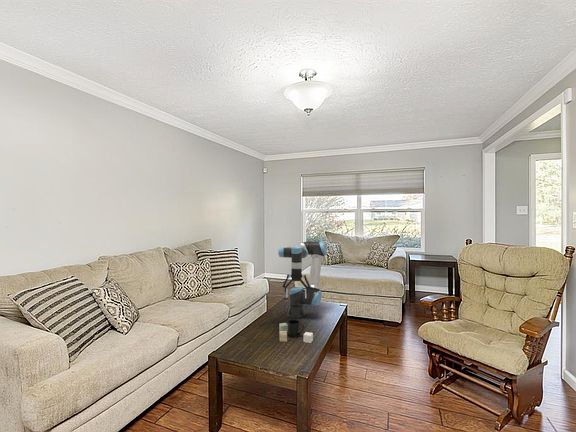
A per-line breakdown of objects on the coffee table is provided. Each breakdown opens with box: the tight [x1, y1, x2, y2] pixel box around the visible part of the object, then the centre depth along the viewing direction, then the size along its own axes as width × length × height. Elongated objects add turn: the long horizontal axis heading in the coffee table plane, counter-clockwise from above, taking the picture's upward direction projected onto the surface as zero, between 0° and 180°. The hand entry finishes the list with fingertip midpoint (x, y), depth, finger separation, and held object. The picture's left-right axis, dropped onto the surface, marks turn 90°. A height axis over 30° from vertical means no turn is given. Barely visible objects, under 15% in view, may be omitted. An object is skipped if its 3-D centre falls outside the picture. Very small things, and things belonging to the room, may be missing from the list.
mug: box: [287, 319, 305, 338], centre depth 210 cm, size 8×12×10 cm
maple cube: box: [279, 330, 288, 343], centre depth 203 cm, size 5×5×5 cm
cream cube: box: [303, 331, 314, 344], centre depth 201 cm, size 5×5×5 cm
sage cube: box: [278, 322, 289, 333], centre depth 218 cm, size 5×5×5 cm
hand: (296, 297), depth 215 cm, fingers open, 13 cm apart
